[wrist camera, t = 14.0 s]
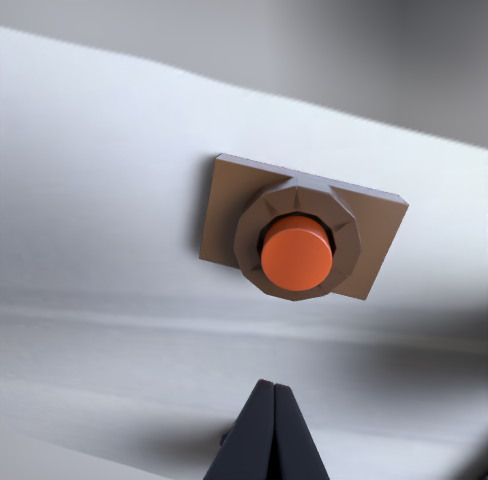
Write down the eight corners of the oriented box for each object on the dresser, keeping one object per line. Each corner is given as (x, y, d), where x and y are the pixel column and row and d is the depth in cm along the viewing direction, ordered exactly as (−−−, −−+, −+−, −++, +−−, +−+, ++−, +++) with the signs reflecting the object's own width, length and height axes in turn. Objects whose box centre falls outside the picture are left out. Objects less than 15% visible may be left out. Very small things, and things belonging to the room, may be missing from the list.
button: (337, 224, 15) (342, 238, 13) (317, 279, 16) (320, 298, 15) (272, 208, 15) (270, 221, 14) (257, 264, 17) (254, 282, 15)
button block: (399, 194, 17) (424, 216, 14) (359, 285, 20) (372, 321, 17) (222, 152, 17) (206, 163, 14) (205, 247, 20) (189, 275, 17)
